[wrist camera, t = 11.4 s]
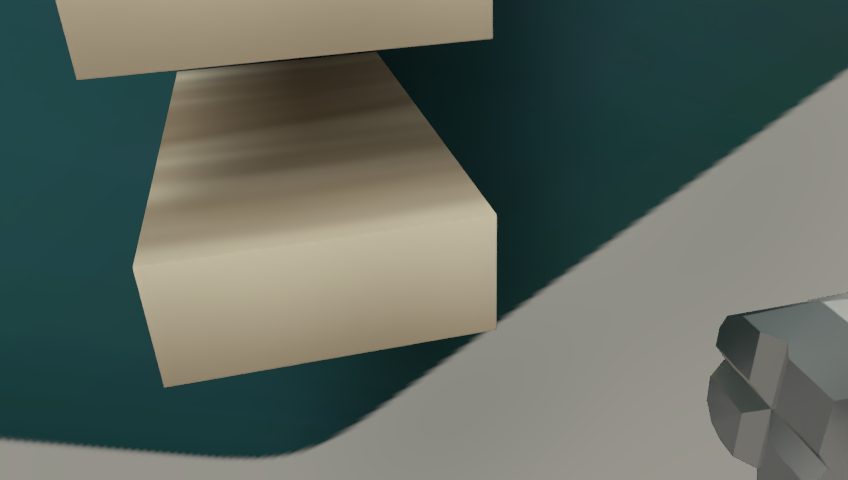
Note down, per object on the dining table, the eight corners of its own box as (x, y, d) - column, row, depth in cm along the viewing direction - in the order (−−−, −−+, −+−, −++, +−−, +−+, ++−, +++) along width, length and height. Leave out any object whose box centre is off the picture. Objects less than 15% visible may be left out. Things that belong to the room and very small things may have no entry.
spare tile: (177, 71, 18) (132, 267, 10) (376, 51, 19) (497, 214, 11) (192, 147, 19) (164, 387, 11) (381, 125, 20) (496, 329, 12)
